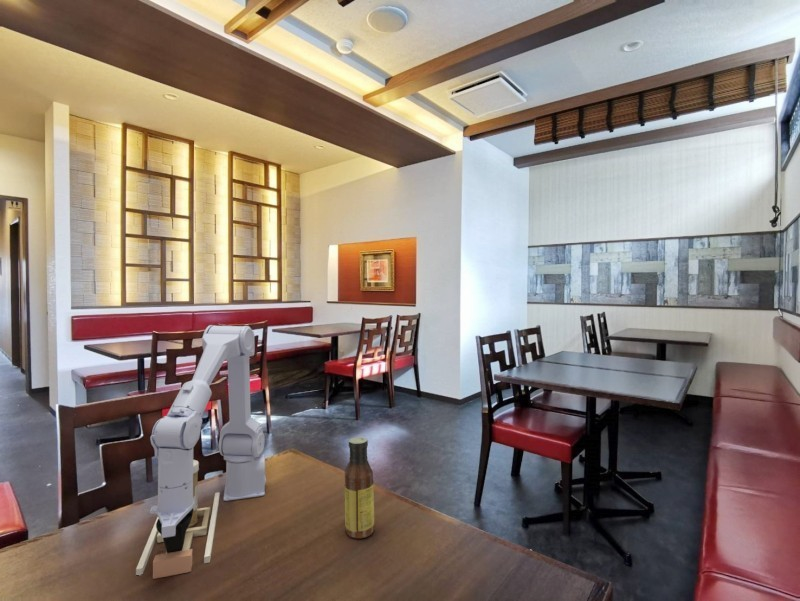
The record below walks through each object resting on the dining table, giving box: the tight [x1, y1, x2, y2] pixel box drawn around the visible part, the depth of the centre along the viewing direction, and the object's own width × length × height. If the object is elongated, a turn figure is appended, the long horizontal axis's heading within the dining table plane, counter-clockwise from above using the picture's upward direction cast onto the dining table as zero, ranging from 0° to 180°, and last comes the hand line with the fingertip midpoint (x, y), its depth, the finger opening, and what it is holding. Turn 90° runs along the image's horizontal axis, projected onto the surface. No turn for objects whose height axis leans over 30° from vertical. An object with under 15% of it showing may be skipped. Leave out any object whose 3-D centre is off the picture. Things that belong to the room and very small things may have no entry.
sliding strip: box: [152, 506, 211, 580], centre depth 83 cm, size 9×20×3 cm, turn 20°
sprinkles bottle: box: [187, 459, 200, 529], centre depth 90 cm, size 5×5×13 cm
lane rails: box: [135, 491, 221, 576], centre depth 87 cm, size 12×26×1 cm, turn 20°
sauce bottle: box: [343, 436, 375, 539], centre depth 88 cm, size 7×6×20 cm
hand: (175, 553), depth 76 cm, fingers closed
